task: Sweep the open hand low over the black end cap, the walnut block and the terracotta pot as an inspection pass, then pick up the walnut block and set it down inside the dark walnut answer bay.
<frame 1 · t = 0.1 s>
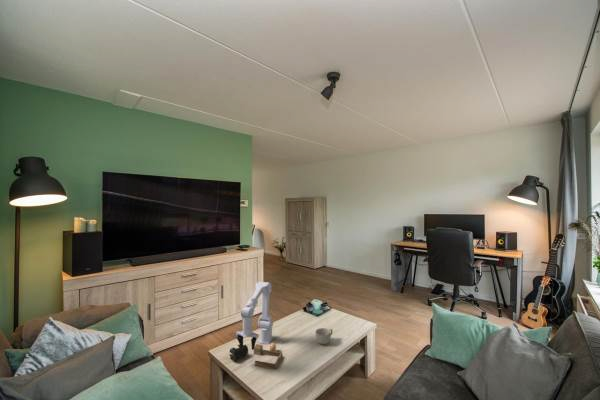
hand: (247, 348, 159), 10 cm above the table, fingers open, 7 cm apart
teacup: (324, 342, 184), on the table
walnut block: (258, 353, 171), on the table
terracotta pot: (272, 351, 172), on the table
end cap: (238, 358, 165), on the table
answer bay: (268, 360, 162), on the table
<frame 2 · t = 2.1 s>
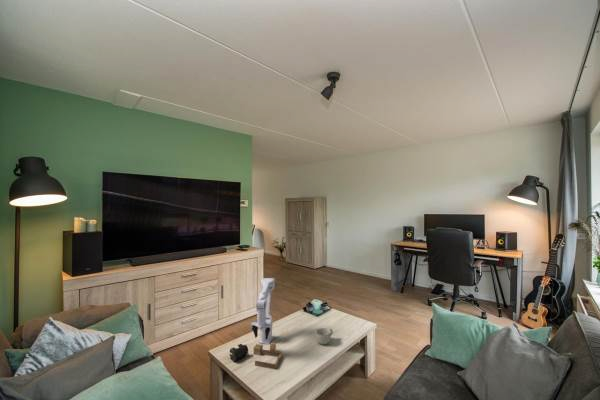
hand: (261, 337, 171), 10 cm above the table, fingers open, 7 cm apart
nothing on the table moved.
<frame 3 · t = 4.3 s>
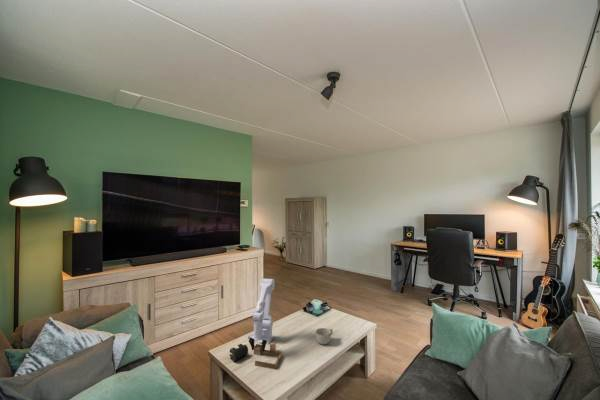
hand: (258, 350, 170), 2 cm above the table, fingers open, 7 cm apart
nothing on the table moved.
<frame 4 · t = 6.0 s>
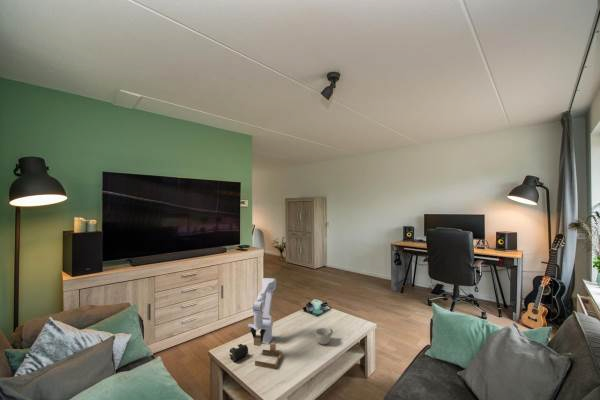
hand: (258, 339, 170), 9 cm above the table, fingers closed on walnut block, 4 cm apart
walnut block: (258, 343, 170), point 6 cm above the table, touching gripper
everything else where it was.
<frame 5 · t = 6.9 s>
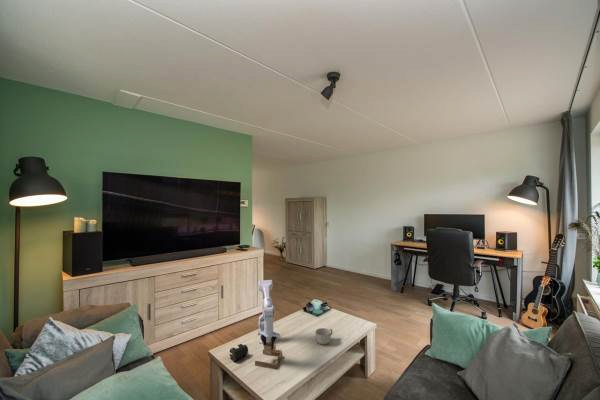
hand: (268, 347, 162), 9 cm above the table, fingers closed on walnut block, 4 cm apart
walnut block: (268, 351, 162), point 6 cm above the table, touching gripper
everything else where it was.
when the fingers open (3 cm above the table, at t = 8.3 s): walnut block stays where it is, on the table.
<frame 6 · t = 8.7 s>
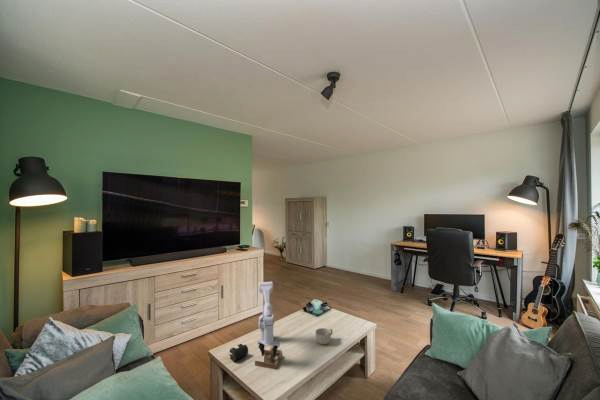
hand: (268, 356, 162), 3 cm above the table, fingers open, 7 cm apart
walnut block: (268, 361, 162), on the table
everything else where it was.
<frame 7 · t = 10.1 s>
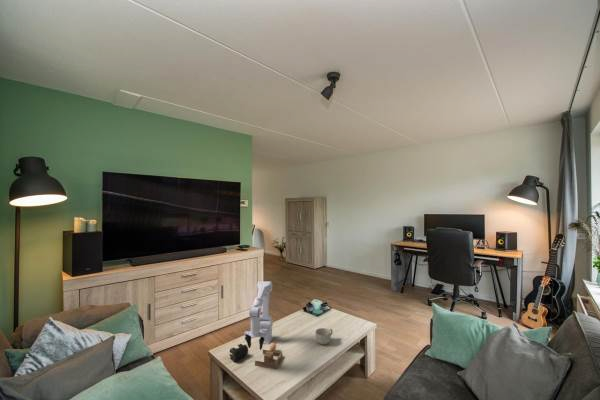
hand: (255, 348, 159), 10 cm above the table, fingers open, 7 cm apart
nothing on the table moved.
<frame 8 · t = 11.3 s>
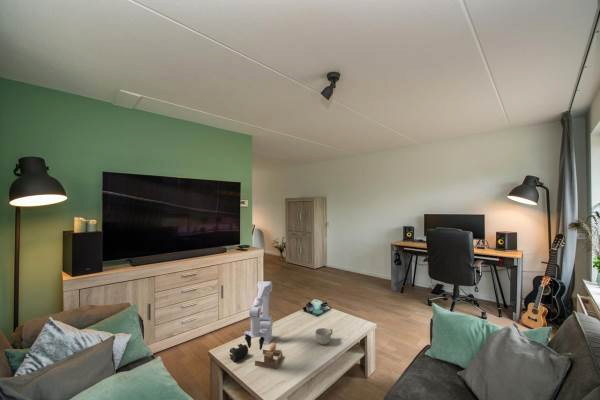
hand: (255, 348, 159), 10 cm above the table, fingers open, 7 cm apart
nothing on the table moved.
at the end: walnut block inside the target area (0.0 cm from its centre), on the table; the gripper is holding nothing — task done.
